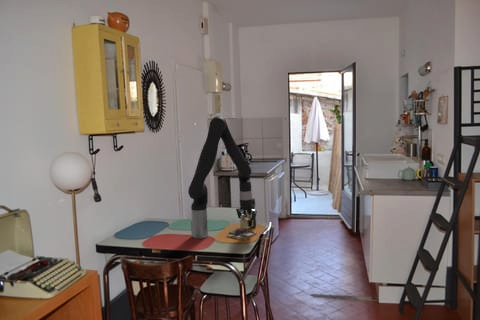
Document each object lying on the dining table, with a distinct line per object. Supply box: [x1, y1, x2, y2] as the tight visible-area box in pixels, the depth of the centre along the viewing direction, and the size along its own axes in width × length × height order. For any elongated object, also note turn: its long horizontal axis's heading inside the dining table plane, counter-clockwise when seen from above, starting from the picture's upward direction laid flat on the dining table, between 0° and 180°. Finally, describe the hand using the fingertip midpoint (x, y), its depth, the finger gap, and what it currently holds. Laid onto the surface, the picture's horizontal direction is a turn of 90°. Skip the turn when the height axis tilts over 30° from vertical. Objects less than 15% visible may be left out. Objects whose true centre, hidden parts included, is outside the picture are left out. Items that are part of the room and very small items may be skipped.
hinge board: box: [226, 228, 257, 241], centre depth 243 cm, size 13×13×4 cm
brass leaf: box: [239, 217, 253, 230], centre depth 239 cm, size 4×7×5 cm, turn 144°
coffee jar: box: [245, 198, 257, 228], centre depth 260 cm, size 10×8×19 cm
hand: (247, 225), depth 239 cm, fingers closed on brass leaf, 4 cm apart
